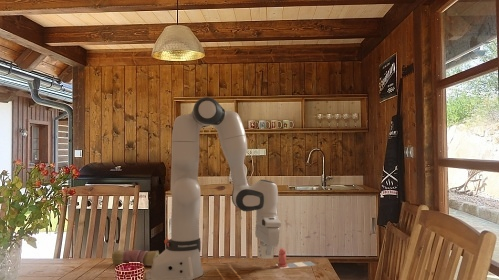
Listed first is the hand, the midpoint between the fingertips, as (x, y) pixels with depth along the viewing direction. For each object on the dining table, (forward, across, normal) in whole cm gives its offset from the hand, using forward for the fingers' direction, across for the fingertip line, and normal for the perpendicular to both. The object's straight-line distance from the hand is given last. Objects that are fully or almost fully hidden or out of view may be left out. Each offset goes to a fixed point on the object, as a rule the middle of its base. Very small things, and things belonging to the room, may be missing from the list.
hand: (265, 253), depth 158 cm
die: (+2, 0, 0) cm, 2 cm away
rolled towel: (+10, -23, -51) cm, 57 cm away
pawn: (+6, 0, +7) cm, 9 cm away
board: (+6, 0, +13) cm, 15 cm away
